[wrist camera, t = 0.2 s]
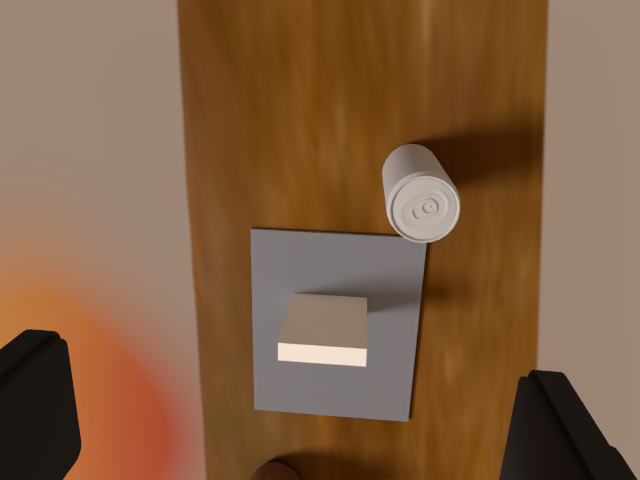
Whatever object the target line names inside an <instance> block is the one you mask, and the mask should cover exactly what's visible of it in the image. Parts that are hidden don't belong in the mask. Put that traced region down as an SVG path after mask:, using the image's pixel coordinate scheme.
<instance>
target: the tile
mask: <svg viewBox="0 0 640 480" xmlns="http://www.w3.org/2000/svg"><path fill="white" fill-rule="evenodd" d="M366 356H367V298H364V297H348V296H332V295H316V294H300V293H293V296H292V299H291V302H290V306H289V309H288V312H287V315H286V318H285V322H284V325H283V328H282V331H281V335H280V338H279V341H278V360H280V361H294V362H308V363H322V364H336V365H349V366H363V367H366Z"/></svg>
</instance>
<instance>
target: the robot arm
mask: <svg viewBox="0 0 640 480" xmlns="http://www.w3.org/2000/svg"><path fill="white" fill-rule="evenodd" d="M75 402H76V401H75V394H74V387H73V380H72V373H71V366H70V359H69V352H68V345H67V342H66V341H65V340H64V339H61V338H60V335H59V334H58V333H57V332H55V331H44V330H32V329H30V330H25V331H24V332H22V333H21V334H19V335H18V336H17V337H16V338H14V339H13V340H12V341H11V342H9V343H8V344H7V345H5V346H4V347H3V348H2V349H0V480H63V479H64V477H65V476H66V474H67V473H68V472H69V470H70V469H71V468H72V466H73V465H74V464H75V462H76V460H77V459H78V456H79V454H80V450H81V437H80V431H79V423H78V416H77V409H76V403H75ZM499 480H637V479H636V477H635V475H634V474H633V472H632V471H631V469H630V468H629V466H628V465H627V463H626V462H625V460H624V458H623V457H622V455H621V454H620V453H619V452H618V450H617V449H616V448H614V447H612V446H610V445H609V444H608V442H607V440H606V439H605V437H604V436H603V434H602V432H601V431H600V429H599V428H598V426H597V425H596V423H595V421H594V420H593V418H592V417H591V415H590V414H589V412H588V410H587V409H586V407H585V406H584V404H583V402H582V401H581V399H580V398H579V396H578V395H577V393H576V392H575V390H574V388H573V387H572V385H571V384H570V382H569V380H568V379H567V377H566V376H565V375H564V373H562V372H552V371H541V370H532V371H530V373H529V375H528V377H524V376H522V377H520V379H519V382H518V387H517V392H516V397H515V402H514V407H513V412H512V417H511V422H510V428H509V433H508V438H507V443H506V448H505V453H504V458H503V464H502V469H501V474H500V479H499Z"/></svg>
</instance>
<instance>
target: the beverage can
mask: <svg viewBox="0 0 640 480" xmlns="http://www.w3.org/2000/svg"><path fill="white" fill-rule="evenodd" d="M382 175H383V184H384V193H385V201H386V209H387V216H388V218H389V221H390V223H391V225H392V226H393V227H394V229H395V230H396V231H397V232H398V233H399V234H400V235H401V236H403V237H404V238H405V239H408V240H410V241H413V242H419V243H427V242H433V241H436V240H439V239H441V238H442V237H444V236H445V235H447V234H448V233H449V232H450V231H451V230H452V229H453V228H454V226H455V224H456V222H457V220H458V218H459V213H460V197H459V195H458V192H457V189H456V187H455V186H454V184H453V183H452V181H451V180H450V178H449V177H448V175H447V174H446V172H445V171H444V169H443V168H442V166H441V165H440V163H439V161H438V160H437V158H436V157H435V156H434V154H433V153H432V152H431V151H430V150H429V149H427V148H426V147H424V146H421V145H418V144H406V145H403V146H400V147H398V148H396V149H395V150H394V151H393V152H392V153H391V154H390V155H389V157H388V158H387V160H386V162H385V164H384V166H383V171H382Z"/></svg>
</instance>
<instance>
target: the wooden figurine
mask: <svg viewBox="0 0 640 480" xmlns="http://www.w3.org/2000/svg"><path fill="white" fill-rule="evenodd" d="M249 480H299V478H298V476H297V474H296V473H295V472H294V470H292V469H291V468H290V467H288V466H287V465H285V464H282V463H279V462H269V463H265V464H264V465H262V466H261V467H259V468H258V469H257V470H256V471H255V472H254V474H253V475H252V476H251V477H250V479H249Z"/></svg>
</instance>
